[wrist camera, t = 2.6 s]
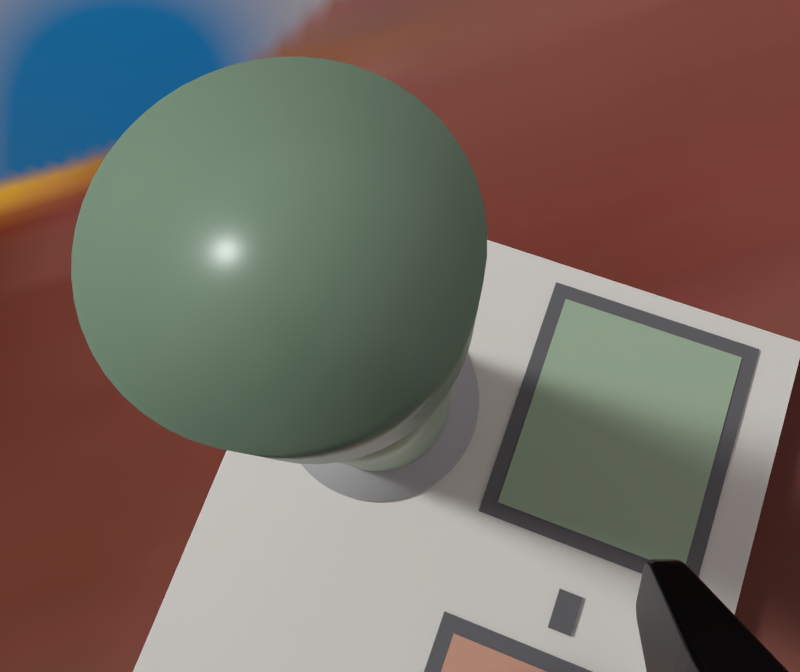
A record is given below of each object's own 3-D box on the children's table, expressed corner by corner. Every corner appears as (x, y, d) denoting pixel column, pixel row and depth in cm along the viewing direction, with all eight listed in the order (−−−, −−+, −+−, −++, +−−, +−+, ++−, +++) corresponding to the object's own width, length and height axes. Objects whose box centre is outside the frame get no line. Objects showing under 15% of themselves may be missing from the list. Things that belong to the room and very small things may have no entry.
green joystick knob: (425, 502, 18) (397, 521, 6) (276, 445, 18) (-2, 364, 7) (479, 352, 19) (543, 121, 7) (335, 301, 19) (176, 12, 8)
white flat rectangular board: (605, 1045, 16) (617, 1085, 15) (92, 797, 18) (69, 817, 17) (785, 350, 19) (806, 342, 18) (341, 204, 21) (335, 189, 20)
